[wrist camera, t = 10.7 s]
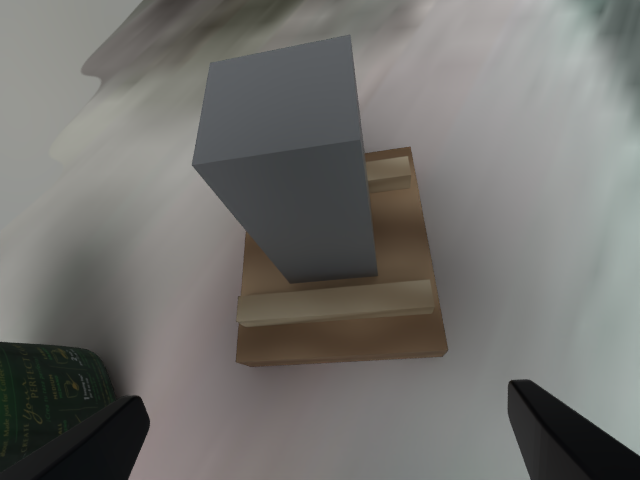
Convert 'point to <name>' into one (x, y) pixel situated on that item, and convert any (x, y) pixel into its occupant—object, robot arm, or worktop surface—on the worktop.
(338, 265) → the tall grey pillar block
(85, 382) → the coffee jar
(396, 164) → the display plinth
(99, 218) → the worktop surface
